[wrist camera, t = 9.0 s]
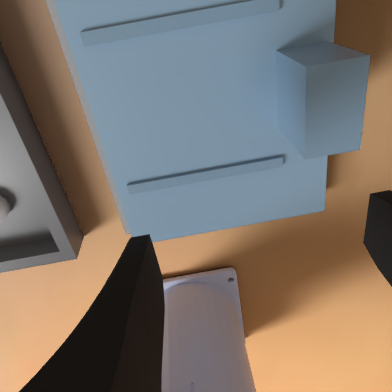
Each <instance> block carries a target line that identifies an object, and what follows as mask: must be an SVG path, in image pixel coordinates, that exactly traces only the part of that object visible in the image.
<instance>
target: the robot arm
mask: <svg viewBox="0 0 392 392" xmlns="http://www.w3.org/2000/svg"><path fill="white" fill-rule="evenodd" d="M363 243H364V244H365V246H366V248H367V250H368V252H369V254H370V255H371V257H372V259H373V261H374V262H375V264H376V266H377V267H378V269H379V270H380V272H381V273H382V274H383V276H384V277H385V278H386V280H387V281H388V282H389V284H390V285H391V286H392V191H390V190H388V191H383V192H377V193H372V194H370V199H369V206H368V213H367V220H366V228H365V235H364V242H363ZM229 278H231V279H229ZM19 392H256V389H255V385H254V380H253V376H252V372H251V368H250V364H249V359H248V355H247V351H246V347H245V335H244V327H243V320H242V312H241V304H240V297H239V289H238V282H237V274H236V270H235V269H234V268H231V267H229V268H223V269H218V270H212V271H207V272H201V273H196V274H190V275H185V276H179V277H174V278H168V279H163V278H162V274H161V271H160V267H159V264H158V261H157V257H156V254H155V250H154V247H153V244H152V240H151V237H150V234H147V235H142V236H136V237H131V238H130V240H129V241H128V243H127V245H126V247H125V249H124V251H123V253H122V255H121V257H120V258H119V260H118V262H117V264H116V266H115V268H114V269H113V271H112V273H111V275H110V276H109V278H108V280H107V281H106V283H105V285H104V286H103V288H102V290H101V291H100V293H99V294H98V296H97V297H96V299H95V300H94V302H93V303H92V305H91V306H90V308H89V310H88V311H87V312H86V314H85V315H84V317H83V318H82V319H81V321H80V322H79V324H78V325H77V326H76V328H75V329H74V330H73V332H72V333H71V334H70V335H69V337H68V338H67V339H66V340H65V342H64V343H63V344H62V345H61V346H60V348H59V349H58V350H57V351H56V352H55V353H54V355H53V356H52V357H51V358H50V359H49V360H48V361H47V362H46V364H45V365H44V366H43V367H42V368H41V369H40V370H39V371H38V373H37V374H36V375H35V376H34V377H33V378H32V379H31V380H30V381H29V382H28V383H27V384H26V385H25V386H24V387H23V388H22V389H21V390H20V391H19Z"/></svg>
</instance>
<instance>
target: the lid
mask: <svg viewBox="0 0 392 392" xmlns="http://www.w3.org/2000/svg"><path fill="white" fill-rule="evenodd" d="M54 3H55V6H56V9H57V12H58V15H59V18H60V21H61V24H62V27H63V30H64V33H65V36H66V39H67V42H68V45H69V48H70V51H71V54H72V57H73V60H74V63H75V66H76V69H77V72H78V75H79V78H80V81H81V84H82V87H83V90H84V93H85V96H86V99H87V102H88V105H89V108H90V111H91V114H92V117H93V120H94V123H95V127H96V130H97V133H98V136H99V139H100V142H101V145H102V148H103V151H104V154H105V157H106V160H107V163H108V166H109V169H110V172H111V175H112V178H113V181H114V184H115V187H116V190H117V193H118V196H119V199H120V202H121V205H122V208H123V211H124V214H125V217H126V220H127V223H128V226H129V229H130V232H131V235H132V237H136V236H142V235H147V234H150V237H151V240H152V242H157V241H162V240H168V239H173V238H179V237H184V236H190V235H195V234H201V233H206V232H212V231H217V230H223V229H228V228H234V227H239V226H245V225H250V224H256V223H261V222H267V221H272V220H278V219H283V218H289V217H294V216H300V215H305V214H311V213H316V212H322V211H325V195H326V177H327V159H328V155H334V154H339V153H344V152H350V151H355V150H360V145H361V136H362V127H363V118H364V109H365V100H366V91H367V82H368V73H369V64H370V55H369V54H366V53H363V52H359V51H356V50H353V49H350V48H347V47H344V46H341V45H338V44H334V32H335V14H336V0H54Z"/></svg>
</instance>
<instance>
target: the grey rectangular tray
mask: <svg viewBox="0 0 392 392" xmlns="http://www.w3.org/2000/svg"><path fill="white" fill-rule="evenodd" d="M83 238H84V237H83V234H82V232H81V230H80V227H79V225H78V223H77V220H76V218H75V216H74V213H73V211H72V209H71V206H70V204H69V202H68V199H67V197H66V195H65V192H64V190H63V188H62V185H61V183H60V181H59V178H58V176H57V174H56V171H55V169H54V167H53V164H52V162H51V160H50V158H49V155H48V153H47V151H46V148H45V146H44V144H43V141H42V139H41V137H40V134H39V132H38V130H37V127H36V125H35V123H34V120H33V118H32V116H31V113H30V111H29V109H28V106H27V104H26V102H25V99H24V97H23V95H22V92H21V90H20V88H19V85H18V83H17V81H16V78H15V76H14V74H13V72H12V69H11V67H10V65H9V62H8V60H7V58H6V55H5V53H4V51H3V48H2V46H1V44H0V273H2V272H7V271H13V270H18V269H24V268H29V267H35V266H40V265H45V264H51V263H56V262H62V261H67V260H73V259H77V257H78V254H79V251H80V247H81V244H82V241H83Z"/></svg>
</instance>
